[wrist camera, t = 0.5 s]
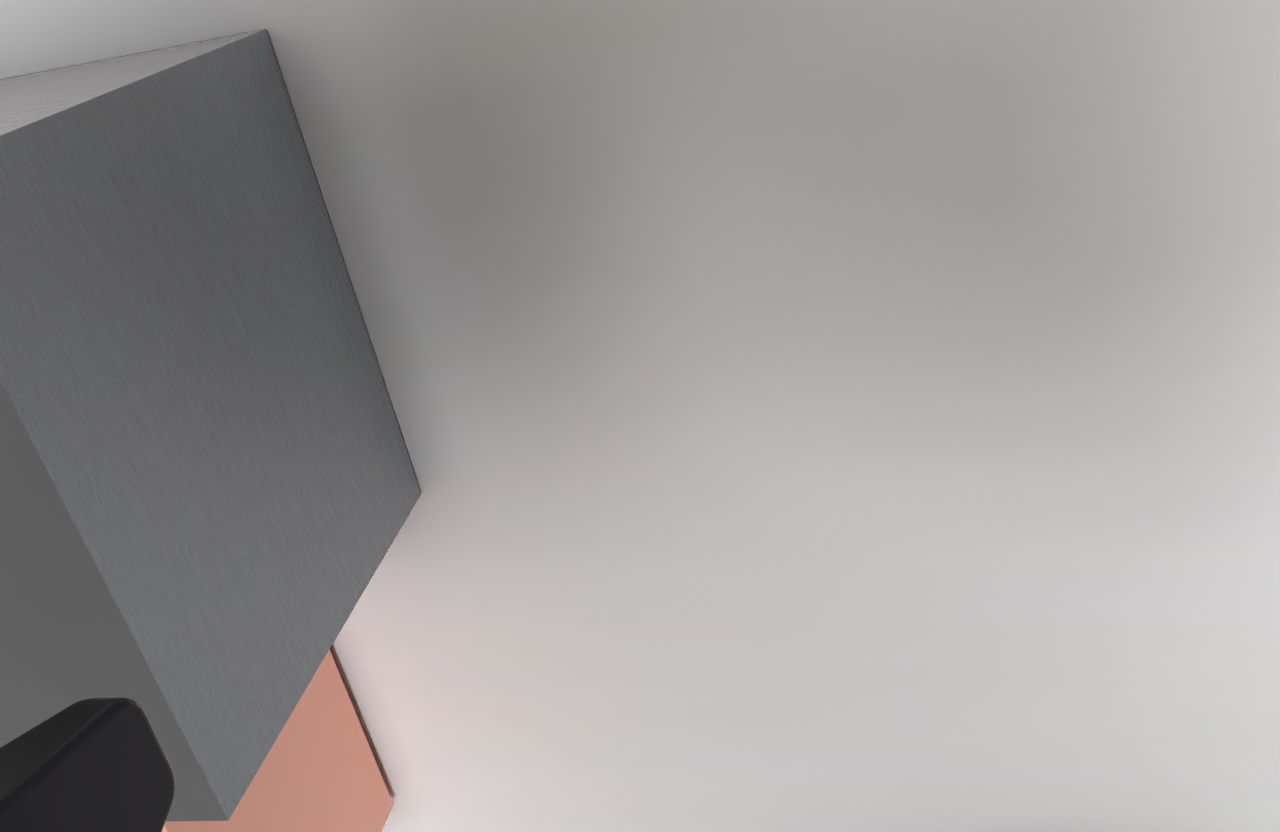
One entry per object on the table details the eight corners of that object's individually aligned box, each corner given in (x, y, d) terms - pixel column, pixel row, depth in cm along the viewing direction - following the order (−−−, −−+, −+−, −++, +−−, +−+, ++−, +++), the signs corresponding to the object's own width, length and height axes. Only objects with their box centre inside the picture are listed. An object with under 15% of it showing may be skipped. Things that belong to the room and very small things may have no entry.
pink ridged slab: (395, 803, 29) (289, 1047, 23) (311, 804, 30) (188, 1043, 24) (143, 193, 21) (-106, 335, 16) (35, 210, 22) (-244, 353, 16)
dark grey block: (433, 530, 25) (251, 865, 17) (71, 557, 27) (-239, 866, 19) (266, 29, 20) (-105, 177, 12) (-165, 111, 22) (-720, 283, 14)
